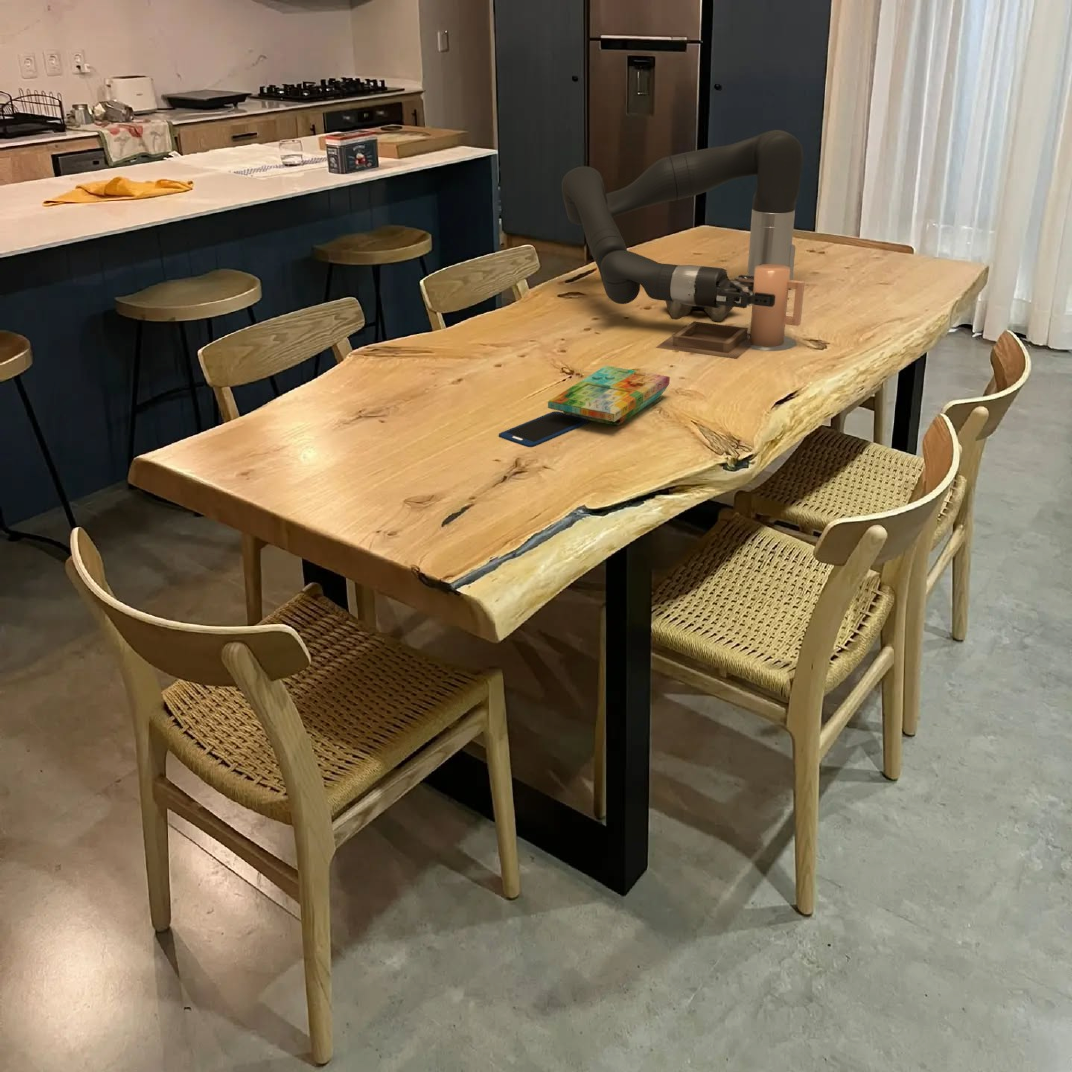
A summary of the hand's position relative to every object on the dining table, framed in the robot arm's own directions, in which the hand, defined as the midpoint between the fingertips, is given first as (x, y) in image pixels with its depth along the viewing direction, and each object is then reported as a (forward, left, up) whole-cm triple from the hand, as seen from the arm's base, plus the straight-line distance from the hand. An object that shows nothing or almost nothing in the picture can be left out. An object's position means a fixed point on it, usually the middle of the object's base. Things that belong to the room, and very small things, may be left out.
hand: (781, 295), depth 200 cm
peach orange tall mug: (0, 0, -9) cm, 9 cm away
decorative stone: (+4, -25, -10) cm, 27 cm away
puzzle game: (+42, +21, -10) cm, 48 cm away
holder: (+11, -5, -10) cm, 16 cm away
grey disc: (+1, -1, -10) cm, 10 cm away
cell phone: (+54, +26, -10) cm, 61 cm away
